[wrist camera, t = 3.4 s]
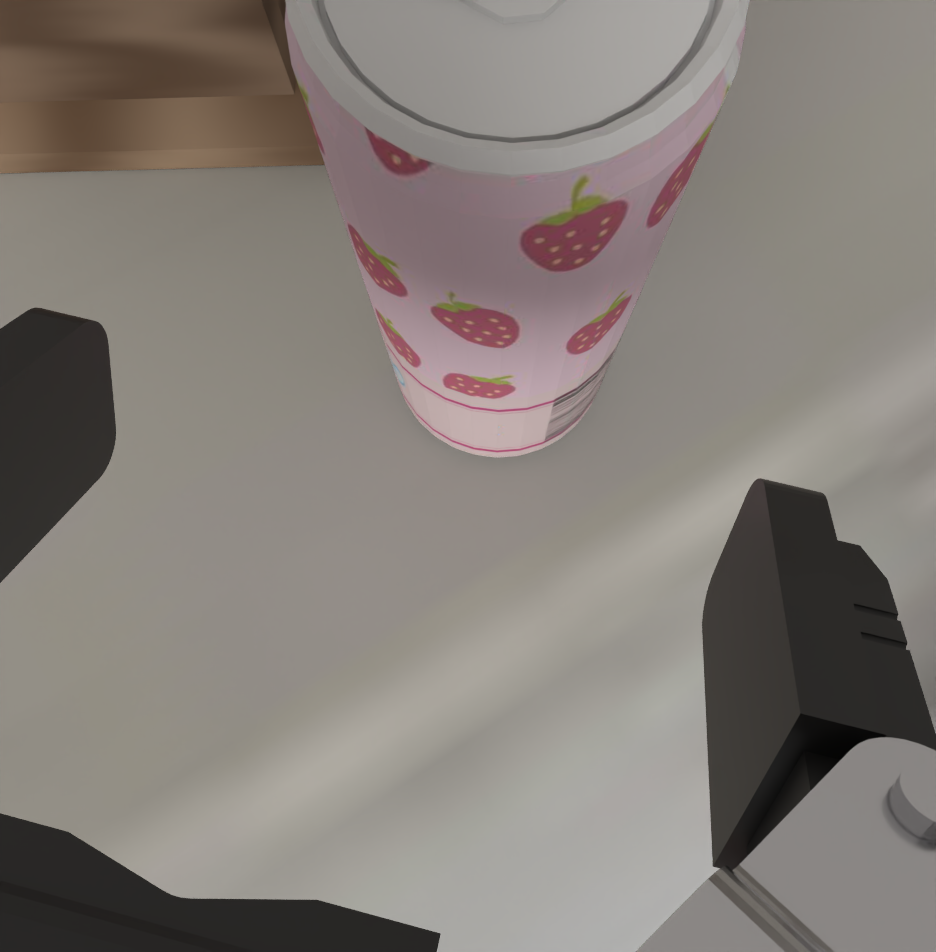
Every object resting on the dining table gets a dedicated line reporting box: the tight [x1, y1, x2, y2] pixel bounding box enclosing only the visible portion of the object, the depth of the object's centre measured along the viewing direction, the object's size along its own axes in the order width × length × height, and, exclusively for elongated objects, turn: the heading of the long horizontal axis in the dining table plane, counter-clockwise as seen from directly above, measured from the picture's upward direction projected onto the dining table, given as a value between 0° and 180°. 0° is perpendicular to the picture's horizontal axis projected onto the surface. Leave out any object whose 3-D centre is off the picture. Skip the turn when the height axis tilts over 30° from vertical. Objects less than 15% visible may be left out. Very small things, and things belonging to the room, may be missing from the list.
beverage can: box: [285, 0, 750, 458], centre depth 17 cm, size 6×6×15 cm
